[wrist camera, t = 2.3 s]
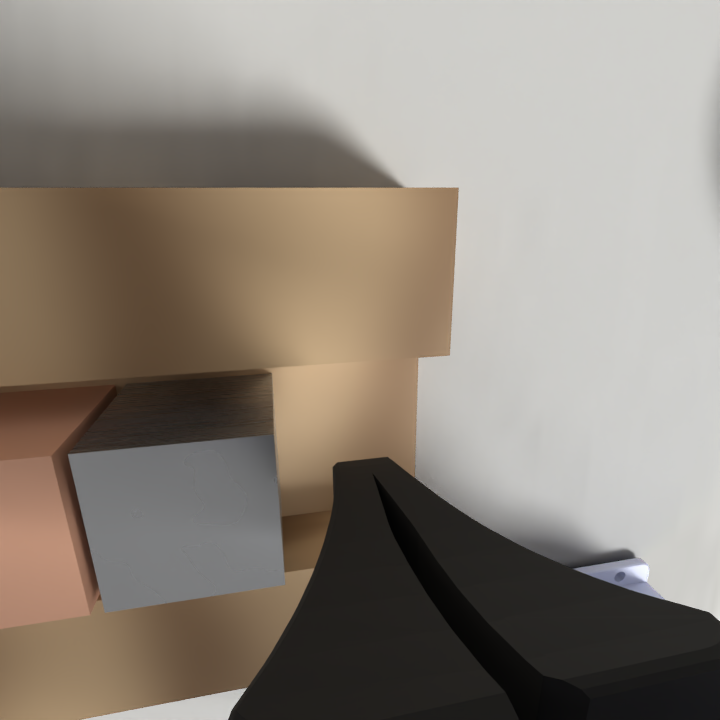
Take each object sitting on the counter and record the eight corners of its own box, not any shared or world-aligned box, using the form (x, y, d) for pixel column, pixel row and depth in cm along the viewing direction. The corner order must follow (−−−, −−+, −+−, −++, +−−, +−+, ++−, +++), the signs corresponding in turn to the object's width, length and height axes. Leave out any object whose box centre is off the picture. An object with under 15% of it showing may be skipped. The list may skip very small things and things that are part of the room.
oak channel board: (412, 194, 14) (458, 187, 10) (403, 571, 18) (434, 651, 15) (-90, 195, 11) (-236, 187, 8) (38, 629, 16) (-23, 739, 12)
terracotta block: (114, 384, 13) (50, 455, 9) (137, 507, 14) (90, 615, 10) (-49, 396, 12) (-195, 479, 8) (-10, 524, 13) (-120, 647, 9)
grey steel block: (271, 373, 13) (274, 434, 10) (280, 490, 15) (285, 584, 11) (126, 383, 13) (67, 454, 9) (148, 506, 14) (104, 612, 10)
